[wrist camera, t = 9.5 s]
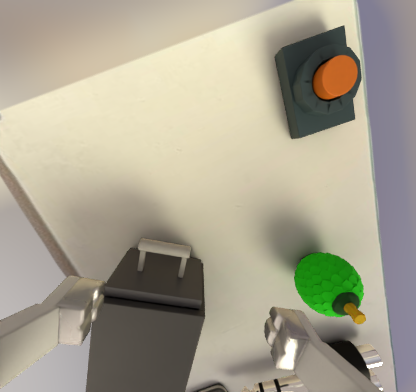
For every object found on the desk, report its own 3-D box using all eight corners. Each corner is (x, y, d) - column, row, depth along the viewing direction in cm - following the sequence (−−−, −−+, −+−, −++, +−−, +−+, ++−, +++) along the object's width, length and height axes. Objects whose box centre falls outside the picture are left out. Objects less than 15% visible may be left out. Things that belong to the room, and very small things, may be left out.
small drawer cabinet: (127, 250, 29) (93, 301, 19) (203, 263, 30) (205, 316, 20) (118, 322, 32) (85, 394, 23) (186, 331, 33) (182, 403, 24)
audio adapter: (389, 407, 32) (246, 439, 33) (363, 371, 38) (240, 400, 38) (389, 361, 30) (233, 397, 30) (361, 329, 35) (228, 361, 35)
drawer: (134, 221, 26) (108, 251, 19) (207, 234, 28) (210, 267, 20) (121, 316, 31) (95, 372, 23) (185, 325, 32) (181, 381, 24)
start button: (309, 69, 20) (319, 62, 19) (342, 57, 20) (355, 49, 18) (315, 104, 21) (325, 100, 19) (346, 93, 21) (359, 88, 19)
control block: (274, 56, 23) (289, 38, 19) (330, 36, 23) (357, 13, 19) (291, 138, 26) (307, 137, 22) (342, 121, 25) (368, 117, 21)
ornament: (275, 259, 30) (312, 313, 20) (321, 232, 29) (382, 275, 20) (298, 294, 32) (341, 358, 22) (342, 269, 31) (406, 325, 22)
